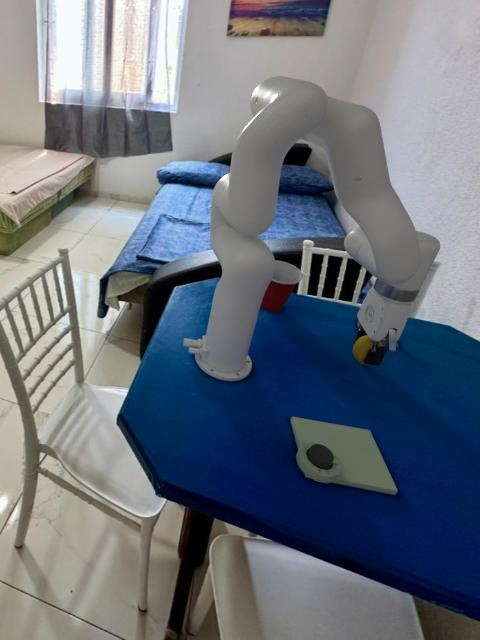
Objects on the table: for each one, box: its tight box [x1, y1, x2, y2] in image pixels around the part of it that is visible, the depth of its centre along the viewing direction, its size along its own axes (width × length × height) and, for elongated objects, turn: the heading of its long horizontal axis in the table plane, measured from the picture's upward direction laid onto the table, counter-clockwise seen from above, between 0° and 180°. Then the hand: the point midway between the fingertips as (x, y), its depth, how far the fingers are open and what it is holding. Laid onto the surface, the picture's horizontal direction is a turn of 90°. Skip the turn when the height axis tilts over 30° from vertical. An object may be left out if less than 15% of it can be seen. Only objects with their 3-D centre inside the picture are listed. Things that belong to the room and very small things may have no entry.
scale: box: [290, 416, 398, 496], centre depth 72 cm, size 15×13×3 cm
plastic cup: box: [260, 259, 304, 313], centre depth 111 cm, size 11×11×12 cm
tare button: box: [308, 444, 334, 469], centre depth 69 cm, size 4×4×2 cm
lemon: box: [352, 335, 384, 366], centre depth 92 cm, size 6×6×8 cm
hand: (365, 353), depth 93 cm, fingers closed on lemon, 5 cm apart
